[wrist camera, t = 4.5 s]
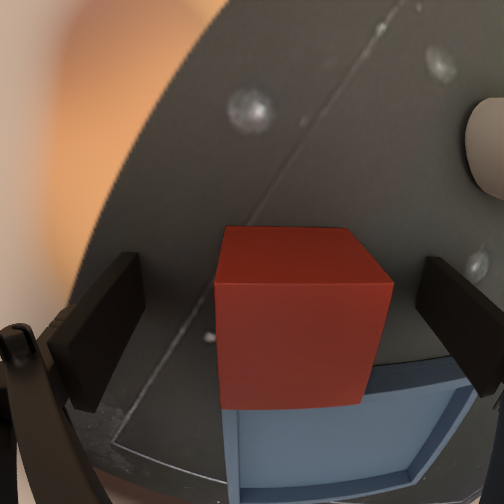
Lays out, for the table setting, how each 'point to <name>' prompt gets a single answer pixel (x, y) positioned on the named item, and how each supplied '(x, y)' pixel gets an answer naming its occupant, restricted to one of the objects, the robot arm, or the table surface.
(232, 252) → the red block
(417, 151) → the table surface
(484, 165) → the beverage can
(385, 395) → the slate tray
